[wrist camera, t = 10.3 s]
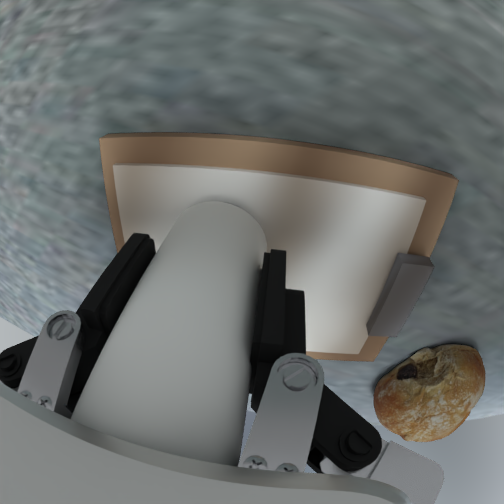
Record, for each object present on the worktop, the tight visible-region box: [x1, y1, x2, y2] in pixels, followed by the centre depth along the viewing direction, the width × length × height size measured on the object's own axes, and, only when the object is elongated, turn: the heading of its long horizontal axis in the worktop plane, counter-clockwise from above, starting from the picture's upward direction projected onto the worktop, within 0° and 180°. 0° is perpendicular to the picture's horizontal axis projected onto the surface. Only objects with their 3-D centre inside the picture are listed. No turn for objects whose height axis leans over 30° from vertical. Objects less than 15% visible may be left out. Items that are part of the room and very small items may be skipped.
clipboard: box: [99, 132, 459, 361], centre depth 14 cm, size 16×13×2 cm
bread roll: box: [374, 344, 485, 442], centre depth 18 cm, size 10×10×8 cm
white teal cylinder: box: [71, 201, 267, 467], centre depth 8 cm, size 4×4×12 cm
